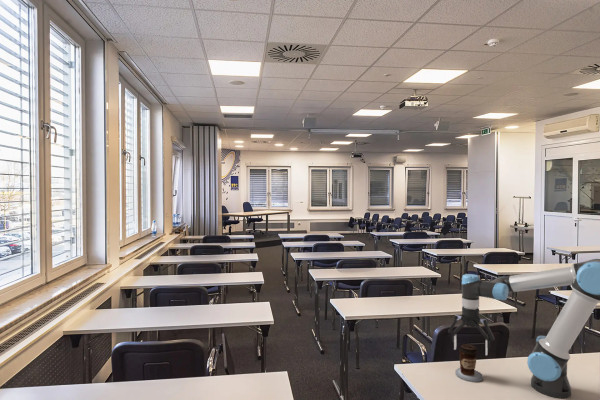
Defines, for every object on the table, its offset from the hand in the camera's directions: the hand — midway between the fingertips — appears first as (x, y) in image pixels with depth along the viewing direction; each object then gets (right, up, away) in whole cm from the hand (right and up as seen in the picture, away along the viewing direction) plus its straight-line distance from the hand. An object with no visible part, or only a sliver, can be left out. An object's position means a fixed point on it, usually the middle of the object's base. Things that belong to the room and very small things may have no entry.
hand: (470, 351), depth 176 cm
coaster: (-1, -12, +1) cm, 12 cm away
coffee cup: (-1, -11, +1) cm, 11 cm away
